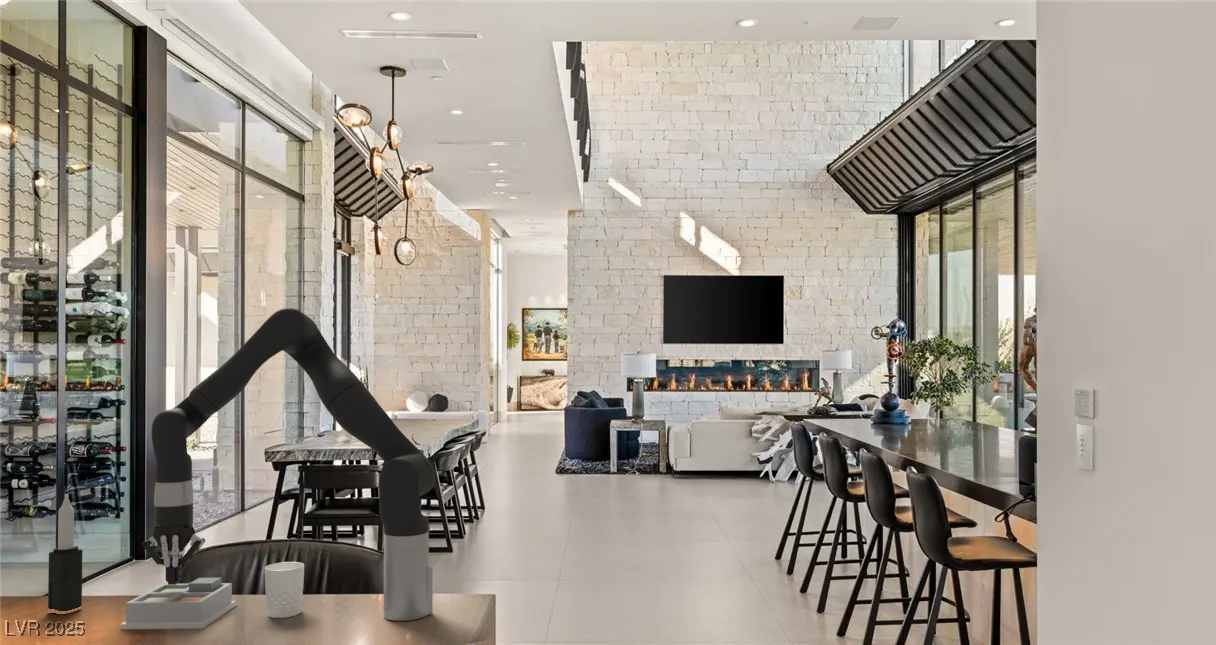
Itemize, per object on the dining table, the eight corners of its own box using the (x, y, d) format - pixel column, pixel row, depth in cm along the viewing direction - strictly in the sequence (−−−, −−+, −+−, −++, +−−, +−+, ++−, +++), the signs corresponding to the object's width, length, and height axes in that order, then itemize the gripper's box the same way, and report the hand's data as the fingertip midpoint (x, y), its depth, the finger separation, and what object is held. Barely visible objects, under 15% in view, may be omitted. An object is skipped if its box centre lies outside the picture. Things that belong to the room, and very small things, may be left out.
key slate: (221, 593, 192) (221, 577, 193) (211, 599, 188) (211, 583, 188) (198, 593, 192) (199, 577, 192) (188, 599, 188) (188, 583, 188)
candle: (84, 608, 193) (85, 492, 194) (63, 615, 188) (64, 496, 189) (66, 606, 194) (68, 491, 195) (45, 613, 190) (46, 495, 190)
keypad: (236, 605, 195) (236, 582, 195) (202, 628, 178) (202, 603, 178) (160, 606, 194) (161, 583, 195) (120, 629, 178) (120, 604, 178)
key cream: (172, 613, 185) (173, 597, 185) (161, 620, 180) (161, 603, 181) (149, 613, 185) (150, 597, 185) (137, 620, 180) (138, 604, 181)
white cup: (310, 608, 192) (310, 561, 192) (293, 619, 184) (294, 570, 184) (275, 608, 192) (275, 561, 193) (257, 618, 185) (257, 570, 185)
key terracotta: (206, 613, 185) (207, 597, 185) (196, 619, 181) (196, 603, 181) (183, 613, 185) (183, 597, 185) (172, 620, 180) (172, 603, 181)
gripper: (212, 498, 195) (212, 578, 194) (151, 499, 195) (151, 580, 194) (197, 504, 187) (196, 587, 187) (133, 505, 187) (133, 589, 186)
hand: (173, 583), depth 190 cm, fingers closed
